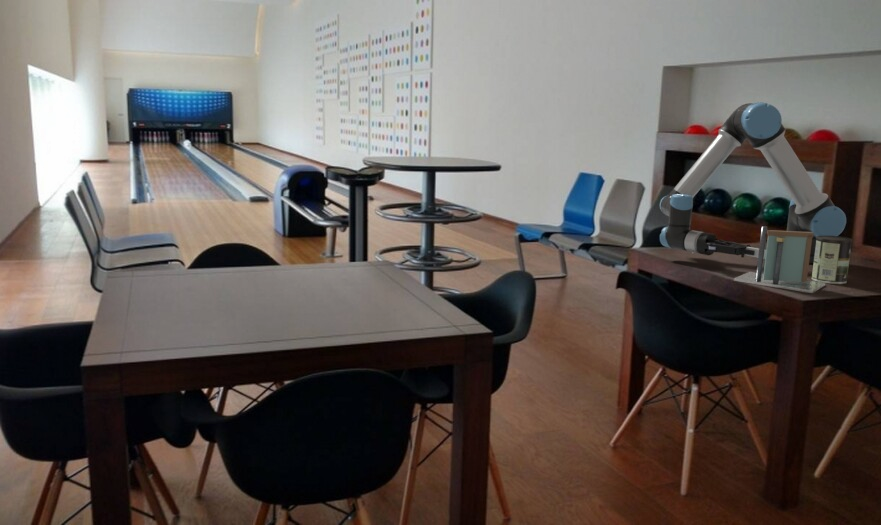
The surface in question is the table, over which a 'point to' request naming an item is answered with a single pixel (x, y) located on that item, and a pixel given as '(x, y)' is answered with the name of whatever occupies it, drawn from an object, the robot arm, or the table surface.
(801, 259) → the panel
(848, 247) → the coffee can
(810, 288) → the gate frame
